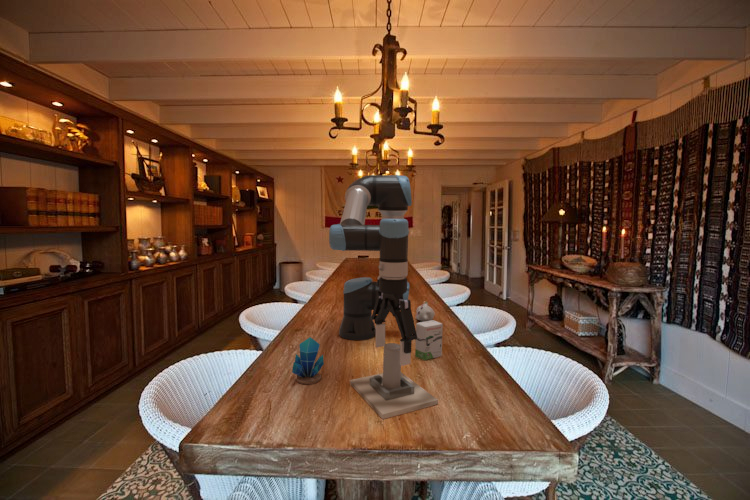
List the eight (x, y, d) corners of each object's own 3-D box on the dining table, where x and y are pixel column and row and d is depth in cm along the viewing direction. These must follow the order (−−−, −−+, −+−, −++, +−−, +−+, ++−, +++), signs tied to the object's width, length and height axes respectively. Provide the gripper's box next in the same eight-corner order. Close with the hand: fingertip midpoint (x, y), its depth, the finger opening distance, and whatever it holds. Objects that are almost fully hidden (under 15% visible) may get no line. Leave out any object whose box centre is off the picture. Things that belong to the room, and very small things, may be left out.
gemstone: (296, 373, 106) (296, 335, 105) (324, 374, 106) (324, 335, 105) (289, 384, 99) (289, 343, 98) (320, 385, 99) (320, 344, 98)
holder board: (349, 384, 100) (349, 373, 100) (398, 373, 107) (398, 363, 107) (382, 419, 82) (382, 406, 82) (437, 404, 89) (438, 392, 89)
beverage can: (381, 385, 97) (382, 342, 96) (398, 384, 97) (400, 342, 96) (383, 393, 92) (384, 349, 91) (401, 393, 92) (403, 349, 91)
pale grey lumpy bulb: (420, 297, 173) (426, 301, 158) (434, 306, 173) (441, 310, 158) (410, 314, 172) (415, 319, 157) (424, 323, 172) (430, 328, 157)
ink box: (424, 361, 117) (424, 326, 116) (414, 356, 121) (415, 323, 120) (442, 355, 122) (443, 322, 121) (432, 351, 126) (433, 319, 125)
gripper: (360, 271, 101) (360, 341, 103) (405, 286, 79) (404, 376, 81) (383, 269, 105) (382, 338, 107) (433, 284, 83) (430, 370, 85)
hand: (391, 354), depth 94 cm, fingers open, 13 cm apart
